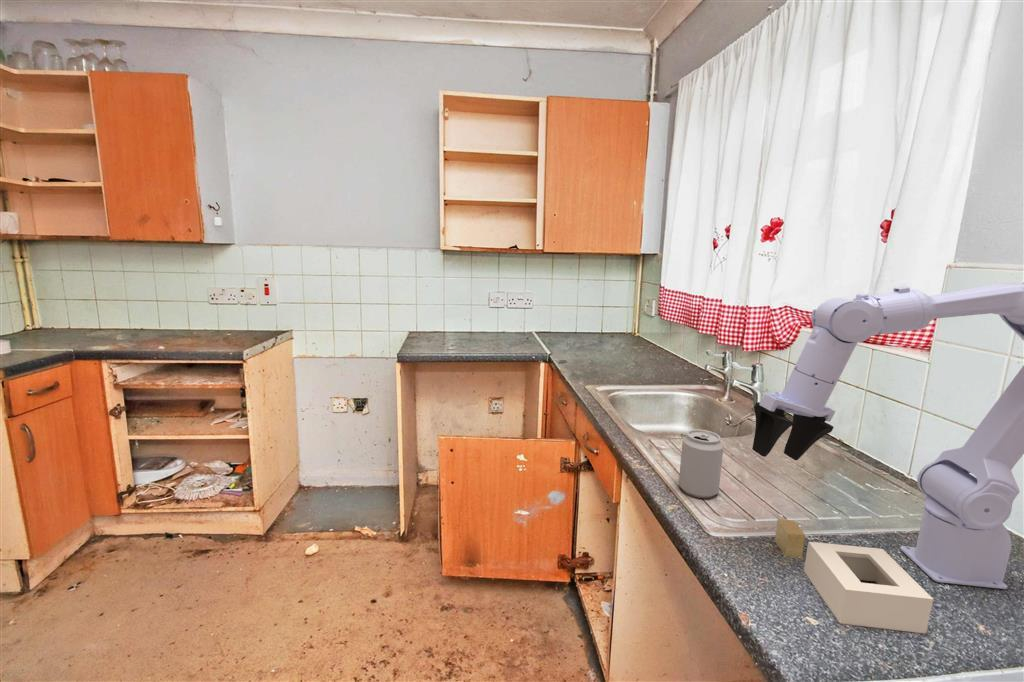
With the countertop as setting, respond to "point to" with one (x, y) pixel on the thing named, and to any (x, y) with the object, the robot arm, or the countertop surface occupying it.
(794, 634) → the countertop surface
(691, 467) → the can
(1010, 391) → the robot arm
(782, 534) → the block
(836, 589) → the box
